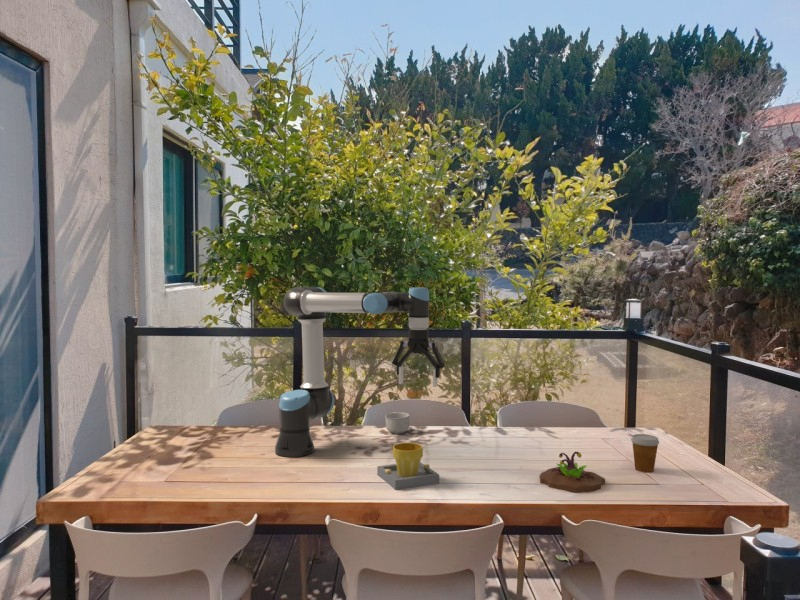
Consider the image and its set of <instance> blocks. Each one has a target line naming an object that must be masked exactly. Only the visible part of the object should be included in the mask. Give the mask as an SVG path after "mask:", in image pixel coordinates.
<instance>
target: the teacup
mask: <svg viewBox="0 0 800 600" xmlns="http://www.w3.org/2000/svg"><path fill="white" fill-rule="evenodd" d="M384 417H385V427H386V430H387V431H388V432H389V433H390V434H394V435H401V434H404V433H406V432H407V431H408V430H409V428H410V414H409V413H407V412H403V411H402V412H397V411H393V412H389V413H386V414H385V416H384Z"/></svg>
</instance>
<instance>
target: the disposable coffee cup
mask: <svg viewBox="0 0 800 600" xmlns="http://www.w3.org/2000/svg"><path fill="white" fill-rule="evenodd" d="M630 440H631V442H632V449H633V450H632V451H633V460H634V469H635V470H636V471H639V472H641V473H653V472H654V471H655V465H656V458H657V453H658V445H659V444H660V440H659V438H658V436H654V435H652V434H646V433H645V434H644V433H635V434H633V435H632V437H631V438H630Z"/></svg>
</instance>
